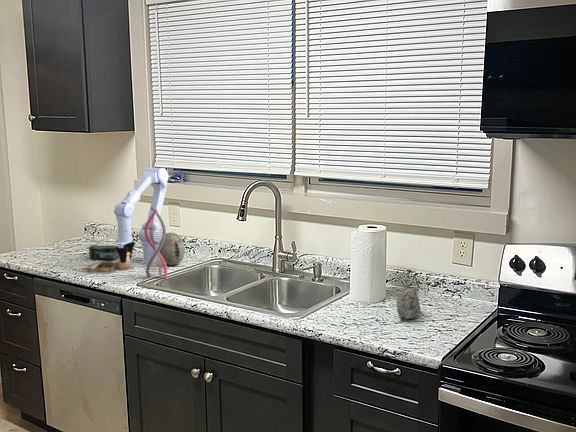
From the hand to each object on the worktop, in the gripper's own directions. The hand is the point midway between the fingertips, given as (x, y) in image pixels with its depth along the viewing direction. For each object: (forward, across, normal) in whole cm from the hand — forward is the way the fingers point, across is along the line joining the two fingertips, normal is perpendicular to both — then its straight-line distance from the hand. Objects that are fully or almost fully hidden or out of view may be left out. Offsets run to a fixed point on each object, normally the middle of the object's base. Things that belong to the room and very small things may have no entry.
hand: (126, 260), depth 280 cm
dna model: (+4, +14, +18) cm, 23 cm away
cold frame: (+4, +1, -10) cm, 10 cm away
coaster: (+4, 0, 0) cm, 4 cm away
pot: (+3, 0, -1) cm, 4 cm away
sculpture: (+4, -18, -16) cm, 25 cm away
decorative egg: (+4, -9, +18) cm, 21 cm away
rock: (+4, +58, +118) cm, 131 cm away
